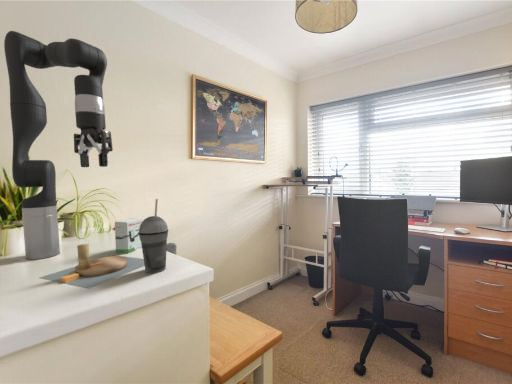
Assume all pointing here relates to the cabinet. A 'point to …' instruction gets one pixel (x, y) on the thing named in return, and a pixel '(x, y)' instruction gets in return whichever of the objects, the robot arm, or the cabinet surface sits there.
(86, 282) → the board
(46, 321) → the cabinet surface
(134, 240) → the ink box
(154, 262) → the beverage cup
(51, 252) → the robot arm
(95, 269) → the dial
